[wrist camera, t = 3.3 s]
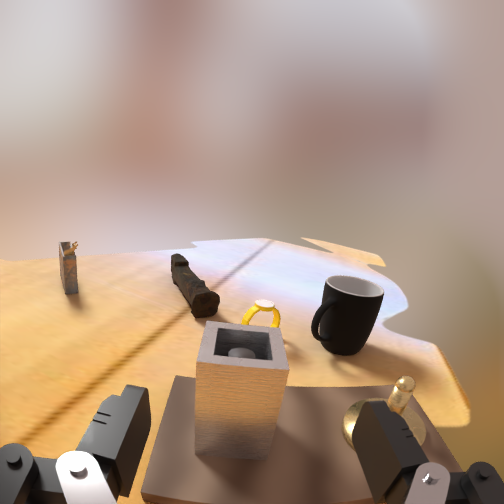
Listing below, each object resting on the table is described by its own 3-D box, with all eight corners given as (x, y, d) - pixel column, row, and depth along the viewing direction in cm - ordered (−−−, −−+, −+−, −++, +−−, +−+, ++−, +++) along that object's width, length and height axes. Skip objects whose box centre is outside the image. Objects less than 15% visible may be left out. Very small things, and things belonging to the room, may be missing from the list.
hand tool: (219, 318, 51) (222, 287, 50) (191, 320, 49) (193, 288, 48) (187, 274, 71) (188, 251, 69) (167, 274, 69) (168, 251, 67)
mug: (338, 327, 51) (350, 273, 49) (377, 350, 44) (395, 291, 42) (286, 343, 45) (297, 280, 42) (328, 373, 38) (346, 304, 35)
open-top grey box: (266, 459, 21) (289, 369, 19) (194, 453, 21) (196, 361, 19) (263, 414, 27) (280, 327, 25) (201, 409, 27) (206, 320, 24)
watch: (245, 347, 42) (250, 309, 41) (236, 338, 45) (240, 301, 43) (280, 340, 46) (286, 304, 44) (269, 331, 48) (275, 297, 47)
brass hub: (412, 473, 19) (448, 419, 17) (326, 442, 24) (348, 386, 22) (427, 419, 26) (452, 367, 24) (358, 395, 31) (376, 344, 29)
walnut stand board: (143, 500, 16) (121, 414, 14) (175, 385, 32) (176, 302, 29) (455, 481, 18) (512, 400, 15) (401, 393, 33) (428, 321, 31)
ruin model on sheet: (80, 294, 51) (78, 244, 49) (65, 296, 49) (62, 245, 47) (73, 275, 59) (71, 231, 57) (60, 276, 57) (58, 232, 55)
